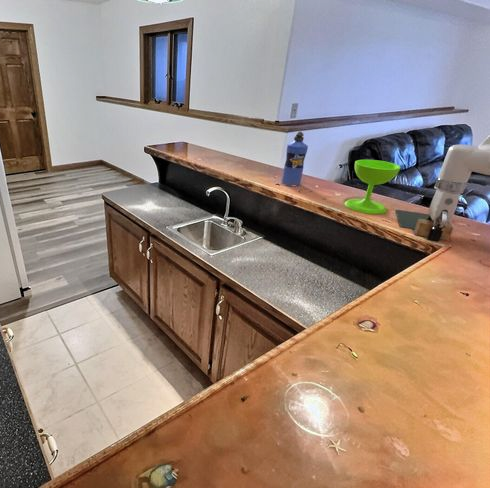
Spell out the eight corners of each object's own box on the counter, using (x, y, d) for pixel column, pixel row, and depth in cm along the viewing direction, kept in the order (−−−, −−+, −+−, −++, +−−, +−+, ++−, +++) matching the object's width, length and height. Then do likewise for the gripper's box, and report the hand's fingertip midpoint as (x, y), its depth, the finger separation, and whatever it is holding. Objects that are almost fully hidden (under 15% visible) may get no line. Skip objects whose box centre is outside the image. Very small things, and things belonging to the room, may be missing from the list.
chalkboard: (436, 217, 137) (437, 215, 136) (447, 237, 120) (448, 234, 120) (395, 211, 142) (395, 209, 142) (400, 229, 126) (401, 226, 125)
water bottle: (278, 180, 180) (287, 130, 168) (297, 181, 179) (306, 130, 168) (283, 186, 171) (292, 133, 160) (302, 186, 171) (313, 134, 160)
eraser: (445, 239, 119) (451, 222, 116) (448, 245, 115) (455, 228, 112) (410, 233, 123) (416, 217, 120) (412, 239, 119) (418, 223, 116)
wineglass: (375, 217, 136) (389, 171, 128) (336, 205, 148) (347, 162, 140) (393, 208, 145) (408, 165, 137) (356, 198, 156) (367, 158, 148)
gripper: (472, 195, 102) (449, 248, 110) (458, 180, 116) (438, 228, 124) (441, 191, 105) (421, 242, 113) (431, 177, 119) (413, 224, 127)
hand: (430, 235), depth 118 cm, fingers open, 8 cm apart
